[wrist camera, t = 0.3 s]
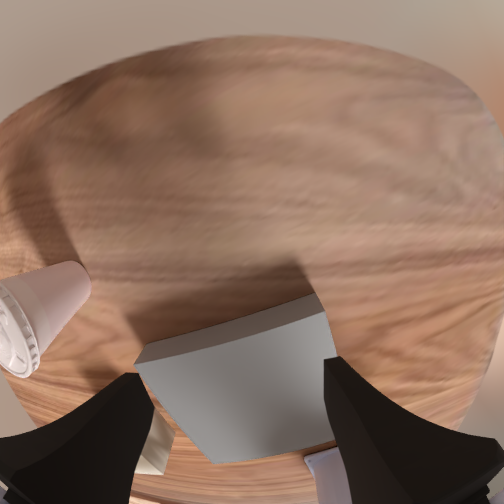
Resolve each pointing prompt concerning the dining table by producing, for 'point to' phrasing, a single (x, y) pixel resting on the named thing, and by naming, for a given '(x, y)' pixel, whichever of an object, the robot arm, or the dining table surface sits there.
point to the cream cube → (156, 447)
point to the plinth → (247, 382)
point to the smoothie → (38, 312)
